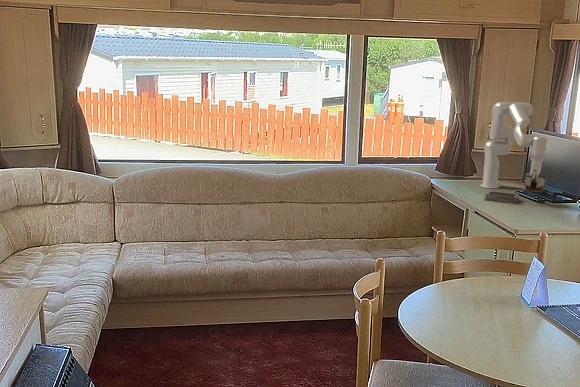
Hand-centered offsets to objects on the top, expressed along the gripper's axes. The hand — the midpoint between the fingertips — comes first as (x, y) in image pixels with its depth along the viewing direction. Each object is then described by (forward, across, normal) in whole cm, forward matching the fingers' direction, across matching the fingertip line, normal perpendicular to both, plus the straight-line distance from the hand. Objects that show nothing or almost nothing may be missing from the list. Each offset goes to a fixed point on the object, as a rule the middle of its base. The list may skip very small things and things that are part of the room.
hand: (533, 186), depth 337 cm
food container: (+2, -1, 0) cm, 3 cm away
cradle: (+10, +2, -17) cm, 20 cm away
